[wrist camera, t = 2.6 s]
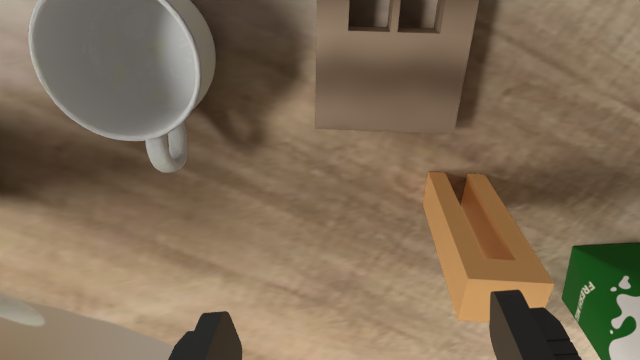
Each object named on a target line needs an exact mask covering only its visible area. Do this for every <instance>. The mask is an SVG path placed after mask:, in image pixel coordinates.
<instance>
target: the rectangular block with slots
mask: <svg viewBox="0 0 640 360" xmlns="http://www.w3.org/2000/svg"><path fill="white" fill-rule="evenodd" d="M400 3H401V0H390V6H389V16H388V27H358V26H348V21H349V0H317V37H316V112H315V128H317V129H340V130H364V131H388V132H412V133H436V134H454V130H455V125H456V119H457V114H458V109H459V104H460V98H461V93H462V88H463V83H464V78H465V72H466V67H467V62H468V57H469V51H470V46H471V41H472V36H473V30H474V25H475V20H476V15H477V9H478V4H479V0H438V3H437V10H436V17H435V24H434V29H428V28H398V22H399V12H400Z"/></svg>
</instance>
